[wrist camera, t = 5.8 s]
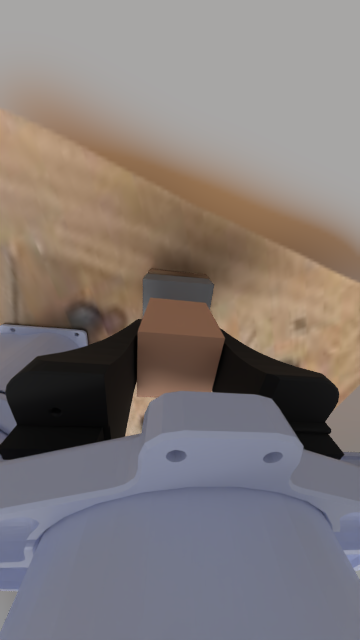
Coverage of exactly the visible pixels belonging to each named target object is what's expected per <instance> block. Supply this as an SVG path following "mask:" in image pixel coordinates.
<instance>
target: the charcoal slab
mask: <svg viewBox="0 0 360 640" xmlns="http://www.w3.org/2000/svg"><path fill="white" fill-rule="evenodd" d="M213 288H214V284H213V283H212V282H211V281H210V280H209V279H204V278H193V277H181V276H169V275H157V274H146V275H145V277H144V278H143V316H144V313H145V311H146V308H147V305H148V302H149V300H150V298H160V299H170V300H181V301H192V302H202V303H206V304H207V306H208V308H209V310H210V305H211V300H212V294H213Z"/></svg>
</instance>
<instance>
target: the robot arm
mask: <svg viewBox="0 0 360 640" xmlns="http://www.w3.org/2000/svg"><path fill="white" fill-rule="evenodd" d="M141 321H142V319H138V320H136V321H135V322H133V323H132V324H130V325H129V326H127V327H126V328H124V329H123V330H121V331H119V332H118V333H116V334H114V335H112V336H110V337H108V338H106V339H104V340H102V341H99V342H96V343H93V344H91V345H88V340H87V333H86V332H85V331H84V330H75V329H62V328H48V327H35V326H22V325H8V324H3V325H1V326H0V333H1V334H0V591H18V592H17V595H16V597H15V599H14V602H13V604H12V606H11V608H10V611H9V613H8V615H7V618H6V620H5V622H4V625H3V627H2V629H1V632H0V640H360V579H359V578H358V576H357V574H356V572H355V571H357V570H360V452H342V451H341V450H340V448H339V447H338V446H337V444H336V443H335V442H334V441H333V439H332V438H331V437H330V436H329V435H328V434H330V433H331V429H330V428H329V427H328V425H327V424H326V423H325V421H326V420H327V418H328V417H329V415H330V414H331V412H332V411H333V410H334V408H335V406H336V404H337V403H338V398H339V391H338V388H337V387H336V386H335V385H334V384H333V383H332V382H331V381H330V380H329V379H328V378H326V377H325V376H324V375H323V374H321V373H317V372H314V371H310V370H306V369H302V368H299V367H295V366H292V365H289V364H286V363H283V362H280V361H278V360H275V359H273V358H270V357H268V356H266V355H263V354H261V353H259V352H257V351H255V350H253V349H251V348H249V347H248V346H246V345H244V344H243V343H241V342H239V341H238V340H236V339H235V338H233V337H232V336H230V335H229V334H228V333H226V332H225V331H223V330H222V329H220V330H221V332H222V334H223V335H224V337H225V340H224V344H223V348H222V352H221V356H220V360H219V364H218V368H217V372H216V376H215V380H214V384H213V387H212V392H195V391H177V392H170V393H164V394H162V395H161V396H159V397H158V398H156V399H155V400H153V401H151V402H150V403H149V406H148V408H147V410H146V412H145V415H144V422H143V428H142V433H141V434H136V435H131V436H126V437H125V433H126V428H127V422H128V417H129V412H130V407H131V402H132V398H133V393H134V389H135V385H136V382H137V349H138V329H139V327H140V324H141ZM14 329H15V330H14ZM76 333H78V334H79V335H77V334H76Z"/></svg>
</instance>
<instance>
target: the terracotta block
mask: <svg viewBox="0 0 360 640" xmlns="http://www.w3.org/2000/svg"><path fill="white" fill-rule="evenodd" d="M224 340H225V337H224V335H223V334H222V332H221V330H220V328H219V326H218V324H217V323H216V321H215V319H214V317H213V315H212V313H211V311H210V310H209V308H208V306H207V304H206V303H202V302H192V301H181V300H170V299H160V298H150V300H149V302H148V305H147V308H146V311H145V313H144V316H143V319H142V321H141V324H140V327H139V329H138V349H137V397H159V396H161V395H162V394H164V393H170V392H177V391H195V392H211V391H212V387H213V384H214V380H215V376H216V372H217V368H218V364H219V360H220V356H221V352H222V348H223V344H224Z"/></svg>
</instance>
